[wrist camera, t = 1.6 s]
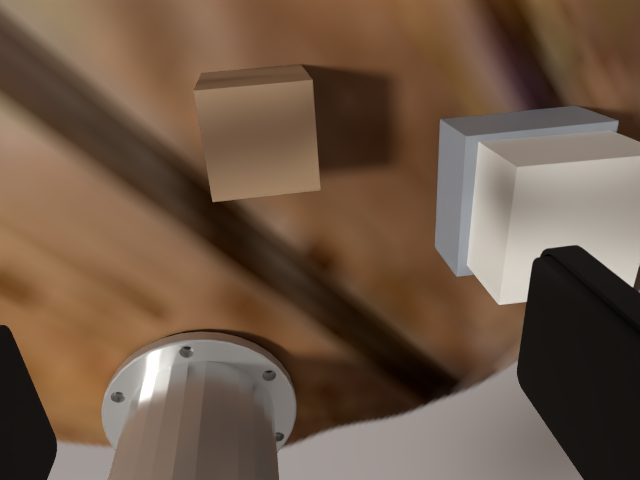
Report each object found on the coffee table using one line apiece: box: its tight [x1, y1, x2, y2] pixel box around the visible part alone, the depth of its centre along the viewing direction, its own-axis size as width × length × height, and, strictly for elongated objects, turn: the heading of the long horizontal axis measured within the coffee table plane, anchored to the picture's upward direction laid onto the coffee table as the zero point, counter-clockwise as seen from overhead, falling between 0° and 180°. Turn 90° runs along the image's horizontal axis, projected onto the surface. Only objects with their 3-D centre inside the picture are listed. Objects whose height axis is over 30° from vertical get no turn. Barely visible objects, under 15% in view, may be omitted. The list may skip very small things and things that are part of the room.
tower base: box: [435, 106, 619, 277], centre depth 29 cm, size 8×8×4 cm
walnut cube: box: [194, 64, 320, 202], centre depth 25 cm, size 5×5×5 cm
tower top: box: [467, 131, 640, 305], centre depth 26 cm, size 7×7×4 cm
